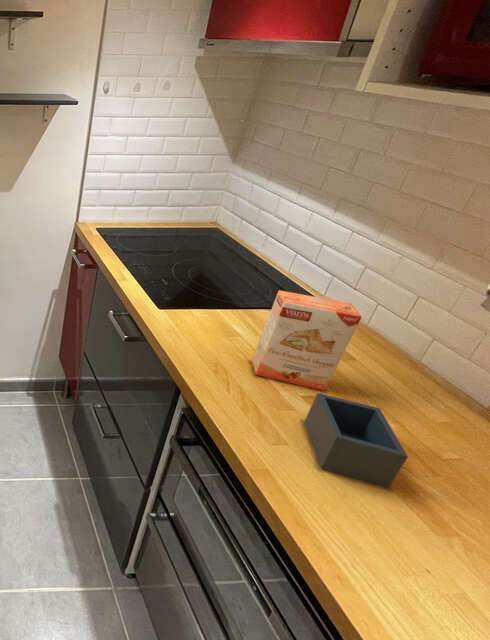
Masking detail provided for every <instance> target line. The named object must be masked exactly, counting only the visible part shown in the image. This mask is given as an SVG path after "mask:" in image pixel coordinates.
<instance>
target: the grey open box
mask: <svg viewBox="0 0 490 640" xmlns="http://www.w3.org/2000/svg"><path fill="white" fill-rule="evenodd" d="M303 423H304V426H305V430H306V431H307V434H308V437H309V440H310V442H311V445H312V448H313V450H314V453H315V456H316V459H317V461H318V464H319V467H320V469H322V470H324V471H329V472H332V473H335V474H339V475H342V476H346V477H348V478H351V479H352V478H353V479H356V480H359V481H363V482H365V483H369V484H372V485H376V486H379V487H382V488H386V489H389V488H390V487H391V485H392V483H393V482H394V480H395V478H396V477H397V476H398V474H399V472H400V470H401V469H402V467H403V466H404V464H405V463H406V461H407V460H408V458H409V457H408V454H407V452H406V451H405V449H404V448H403V445H402V444H401V442H400V441H399V439H398V437H397V436H396V433H395V432H394V431H393V429H392V426H391V425H390V423H389V422H388V420H387V418H386V417H385V415H384V413H383V412H382V410H381V408H380V407H377V406H372V405H368V404H364V403H361V402H357V401H352V400H349V399H344V398H340V397H336V396H332V395H328V394H323V393H320V392H317V394H316V396H315V397H314V400H313V402H312V404H311V407H310V408H309V411H308V412H307V415H306V417H305V419H304V421H303Z"/></svg>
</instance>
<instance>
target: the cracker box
mask: <svg viewBox="0 0 490 640" xmlns="http://www.w3.org/2000/svg"><path fill="white" fill-rule="evenodd" d="M361 320H362V315H361V314H360V313H359V311H358V310H357V309H356V308H355V306H354V305H353V303H352V302H347V301H341V300H335V299H329V298H324V297H319V296H313V295H308V294H303V293H297V292H290V291H285V290H278V292H277V294H276V297H275V299H274V301H273V303H272V307H271V309H270V311H269V315H268V317H267V321H266V323H265V325H264V327H263V330H262V333H261V336H260V337H259V341H258V343H257V346H256V349H255V351H254V354H253V356H252V359H251V364H252V366H253V369H254V373H255V376H258V377H259V376H260V377H264V378H268V379H273V380H276V381H281V382H284V383H289V384H293V385H297V386H302V387H306V388H310V389H315V390H317V391H318V390H319V391H322V392H325V391H326V390H327V388H328V387H329V384H330V382H331V380H332V378H333V377H334V374H335V371H336V369H337V367H338V366H339V363H340V362H341V360H342V358H343V356H344V354H345V351H346V350H347V348H348V345H349V344H350V341H351V340H352V338H353V335H354V333H355V331H356V329H357V327H358V325H359V323H360V321H361Z"/></svg>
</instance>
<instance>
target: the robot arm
mask: <svg viewBox="0 0 490 640" xmlns="http://www.w3.org/2000/svg"><path fill="white" fill-rule="evenodd" d="M485 297H486V298H485V299H484V300H483V301H482V302H481V303H480V306H481V307H482V308H483V309H484V310H485V311H487V312H490V283H489V284H488V286H487V288H486V290H485Z"/></svg>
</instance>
